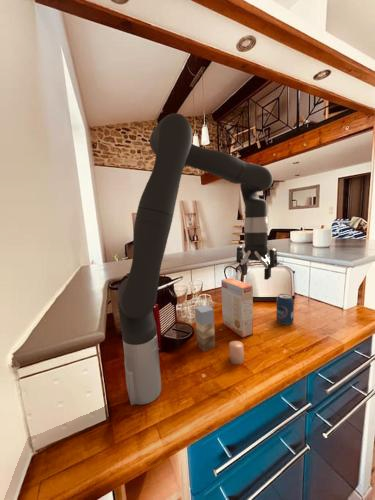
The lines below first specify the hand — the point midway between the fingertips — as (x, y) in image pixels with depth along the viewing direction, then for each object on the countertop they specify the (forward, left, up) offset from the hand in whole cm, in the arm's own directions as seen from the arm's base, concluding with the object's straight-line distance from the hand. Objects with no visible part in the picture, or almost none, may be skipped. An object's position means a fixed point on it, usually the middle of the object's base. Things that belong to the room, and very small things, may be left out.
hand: (255, 276), depth 75 cm
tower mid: (-16, +10, -22) cm, 29 cm away
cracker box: (+2, +14, -27) cm, 30 cm away
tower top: (-16, +10, -17) cm, 25 cm away
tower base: (-16, +10, -27) cm, 32 cm away
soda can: (+24, +8, -27) cm, 37 cm away
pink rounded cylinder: (-11, -2, -27) cm, 29 cm away
